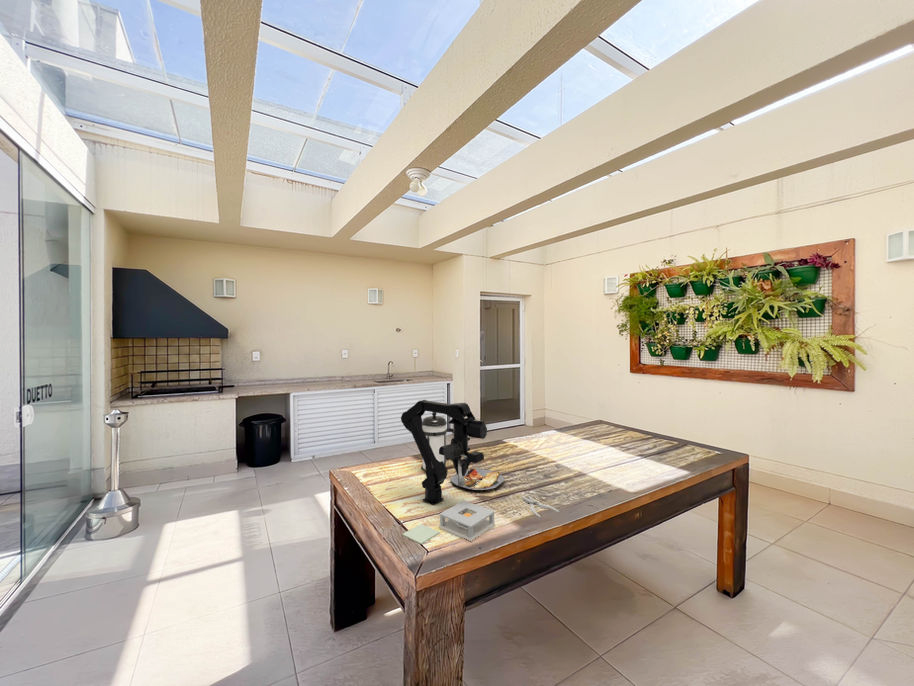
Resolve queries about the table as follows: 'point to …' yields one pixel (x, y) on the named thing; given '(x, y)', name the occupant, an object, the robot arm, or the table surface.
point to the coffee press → (436, 435)
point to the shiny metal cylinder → (460, 474)
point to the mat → (421, 533)
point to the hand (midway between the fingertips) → (460, 475)
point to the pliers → (532, 502)
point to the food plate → (474, 475)
